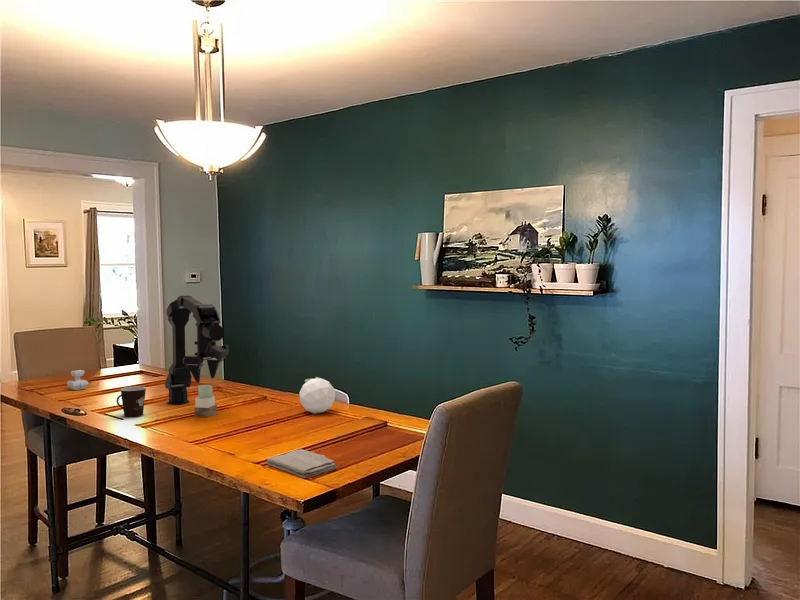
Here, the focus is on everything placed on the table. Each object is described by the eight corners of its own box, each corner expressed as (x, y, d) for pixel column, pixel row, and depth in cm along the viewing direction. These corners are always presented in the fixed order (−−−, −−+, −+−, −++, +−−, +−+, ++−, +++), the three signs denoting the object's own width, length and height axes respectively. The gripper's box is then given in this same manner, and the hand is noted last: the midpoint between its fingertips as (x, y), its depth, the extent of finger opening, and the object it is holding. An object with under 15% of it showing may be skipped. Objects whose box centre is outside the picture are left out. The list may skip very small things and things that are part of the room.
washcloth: (305, 481, 166) (305, 469, 166) (264, 466, 178) (264, 455, 178) (339, 470, 175) (339, 459, 174) (297, 456, 187) (297, 446, 186)
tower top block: (195, 407, 234) (195, 397, 234) (202, 404, 239) (202, 395, 238) (207, 408, 233) (207, 398, 233) (214, 405, 238) (214, 395, 237)
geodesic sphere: (289, 401, 233) (312, 372, 234) (289, 394, 246) (311, 366, 247) (320, 424, 235) (343, 394, 236) (319, 415, 249) (340, 387, 249)
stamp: (65, 389, 282) (65, 370, 282) (80, 387, 288) (80, 368, 287) (74, 391, 277) (74, 372, 276) (90, 389, 282) (89, 370, 281)
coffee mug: (140, 411, 240) (140, 385, 240) (150, 415, 234) (149, 388, 234) (108, 416, 232) (108, 389, 232) (117, 420, 226) (117, 393, 225)
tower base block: (194, 417, 233) (194, 407, 233) (202, 413, 239) (201, 404, 239) (209, 417, 233) (209, 408, 232) (217, 414, 238) (216, 404, 238)
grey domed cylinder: (195, 397, 234) (195, 386, 234) (204, 395, 239) (204, 384, 238) (206, 398, 232) (206, 388, 232) (215, 396, 237) (215, 385, 237)
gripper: (208, 342, 223) (209, 386, 224) (238, 336, 241) (238, 377, 242) (181, 340, 227) (182, 384, 227) (212, 335, 244) (213, 375, 245)
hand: (205, 380), depth 235 cm, fingers open, 9 cm apart
